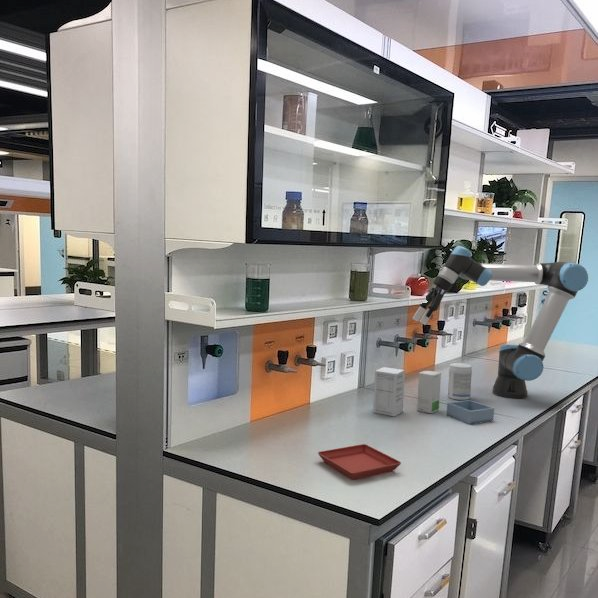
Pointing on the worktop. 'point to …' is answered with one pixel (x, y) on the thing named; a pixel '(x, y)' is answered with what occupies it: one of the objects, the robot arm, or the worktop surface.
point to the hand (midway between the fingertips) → (418, 321)
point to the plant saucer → (359, 461)
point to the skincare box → (428, 391)
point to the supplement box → (388, 391)
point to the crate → (470, 411)
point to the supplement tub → (459, 381)
